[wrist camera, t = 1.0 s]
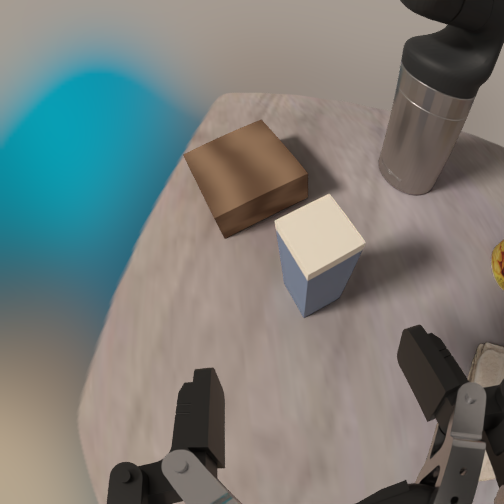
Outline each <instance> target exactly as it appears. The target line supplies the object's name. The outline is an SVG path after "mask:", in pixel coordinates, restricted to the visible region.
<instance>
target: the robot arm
mask: <svg viewBox="0 0 504 504" xmlns="http://www.w3.org/2000/svg"><path fill="white" fill-rule="evenodd" d="M400 1H401V2H402V3H403V4H404V5H405V6H406V7H407V8H408V9H410V10H411V11H413V12H414V13H417V14H419V15H421V16H423V17H426V18H428V19H431V20H435V21H438V22H441V23H445V24H448V25H447V26H446V27H445V28H444V29H442V30H441V31H439V32H436V33H432V34H428V35H423V36H416V37H412V38H410V39H409V40H407V41H406V43H405V45H404V48H403V55H402V60H401V66H400V71H399V77H398V82H397V88H396V92H395V97H394V102H393V106H392V110H391V115H390V119H389V123H388V127H387V131H386V135H385V139H384V143H383V147H382V151H381V154H380V158H379V168H380V171H381V173H382V175H383V177H384V178H385V179H386V181H387V182H388V183H390V184H391V185H392V186H393V187H395V188H396V189H398V190H400V191H402V192H404V193H407V194H412V195H421V194H424V193H427V192H428V191H430V190H431V188H432V187H433V185H434V184H435V182H436V180H437V178H438V176H439V174H440V173H441V171H442V169H443V167H444V165H445V163H446V161H447V159H448V157H449V155H450V153H451V151H452V149H453V147H454V145H455V143H456V141H457V139H458V137H459V134H460V132H461V130H462V128H463V126H464V123H465V121H466V119H467V116H468V114H469V111H470V109H471V106H472V104H473V102H474V99H475V97H476V94H477V91H478V89H479V87H480V86H481V85H482V84H483V83H485V82H486V81H487V79H488V78H489V77H490V75H491V73H492V71H493V69H494V66H495V64H496V61H497V59H498V56H499V53H500V51H501V48H502V46H503V43H504V0H400ZM397 359H398V363H399V366H400V368H401V369H402V371H403V373H404V375H405V377H406V379H407V381H408V383H409V385H410V387H411V389H412V391H413V393H414V395H415V397H416V399H417V401H418V403H419V405H420V407H421V409H422V411H423V413H424V415H425V417H426V420H427V422H428V421H430V420H433V419H435V418H436V420H437V422H438V423H437V425H436V428H435V432H434V436H433V439H432V443H431V446H430V449H429V453H428V456H427V459H426V462H425V464H424V466H423V467H422V469H421V471H420V473H419V475H418V477H417V479H416V482H415V483H413V484H407V481H406V480H405V481H402V482H400V483H397V484H395V485H392V486H389V487H387V488H384V489H381V490H379V491H378V492H376V493H374V494H372V495H371V496H369V497H367V498H365V499H364V500H362V501H360V502H358V503H356V504H472V502H473V499H474V495H475V492H476V488H477V485H478V481H479V477H480V473H481V469H482V464H483V459H484V454H485V450H486V452H487V455H488V458H489V460H490V463H491V466H492V468H493V471H494V474H495V477H496V480H497V483H498V486H499V490H498V492H497V495H496V497H495V499H494V504H504V379H503V380H502V382H501V383H500V385H495V386H490V387H482V386H481V385H479V384H477V383H474V382H469V380H468V379H467V378H466V376H465V375H464V373H463V371H462V370H461V368H460V367H459V365H458V364H457V362H456V361H455V359H454V358H453V356H451V353H450V352H449V350H448V349H446V346H445V345H444V343H443V342H442V340H441V339H440V338H438V337H437V336H435V335H434V334H433V333H429V334H427V332H426V331H425V330H424V328H423V327H422V326H421V325H416V326H413V327H410V328H407V329H404V330H403V332H402V336H401V341H400V345H399V349H398V353H397ZM217 468H225V399H224V392H223V388H222V386H221V384H220V381H219V379H218V376H217V374H216V372H215V369H214V368H203V369H195V371H194V377H193V382H188V383H184V385H183V386H182V388H181V390H180V391H179V393H178V400H177V407H176V415H175V423H174V431H173V439H172V447H171V450H170V452H169V453H168V454H167V455H166V456H165V458H164V459H162V460H160V461H158V462H155V463H151V464H147V465H142V466H136V465H135V464H133V463H130V462H122V463H119V464H117V465H116V466H115V467H114V468H113V469H112V471H111V473H110V479H109V488H108V497H107V504H172V503H177V502H181V501H184V502H185V503H186V504H242V503H241V502H240V501H239V500H238V499H237V498H236V497H235V496H234V495H233V494H232V493H231V492H230V491H229V490H228V489H227V488H226V487H225V486H224V485H223V484H222V483H221V482H220V481H219V480H218V479H217Z"/></svg>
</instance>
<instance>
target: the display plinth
mask: <svg viewBox="0 0 504 504" xmlns="http://www.w3.org/2000/svg"><path fill="white" fill-rule="evenodd" d="M184 157H185V160H186V162H187V164H188V166H189V168H190V170H191V172H192V174H193V176H194V178H195V180H196V182H197V184H198V186H199V188H200V190H201V192H202V194H203V196H204V198H205V200H206V202H207V204H208V207H209V209H210V211H211V213H212V215H213V217H214V219H215V221H216V223H217V224H218V226H219V228H220V230H221V232H222V234H223V236H224V238H227V237H229V236H231V235H233V234H235V233H237V232H239V231H241V230H243V229H245V228H247V227H249V226H251V225H253V224H255V223H257V222H259V221H261V220H263V219H265V218H267V217H269V216H271V215H273V214H275V213H277V212H279V211H281V210H283V209H285V208H287V207H289V206H292V205H294V204H296V203H298V202H300V201H302V200H304V199H306V198H308V173H307V172H306V170H305V169H304V168H303V167H302V166H301V164H300V163H299V162H298V161H297V160H296V158H295V157H294V156H293V155H292V154H291V152H290V151H289V150H288V149H287V148H286V147H285V146H284V144H283V143H282V142H281V141H280V140H279V139H278V137H277V136H276V135H275V134H274V133H273V132H272V131H271V130H270V129H269V127H268V126H267V125H266V124H265V123H264V122H263V121H262V120H259V121H257V122H254V123H252V124H249V125H247V126H245V127H242V128H240V129H238V130H235V131H233V132H231V133H228V134H226V135H224V136H222V137H219V138H217V139H215V140H213V141H211V142H209V143H206V144H204V145H202V146H200V147H198V148H196V149H194V150H192V151H190V152H188V153H186V154H184Z"/></svg>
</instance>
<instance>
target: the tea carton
mask: <svg viewBox="0 0 504 504" xmlns="http://www.w3.org/2000/svg"><path fill="white" fill-rule="evenodd" d="M275 227H276V233H277V239H278V246H279V252H280V259H281V265H282V272H283V279H284V284H285V286H286V287H287V289H288V291H289V293H290V294H291V296H292V298H293V300H294V302H295V303H296V305H297V307H298V309H299V310H300V312H301V314H302V316H303V318H305V317H306V316H308V315H310V314H312V313H314V312H315V311H317V310H319V309H321V308H323V307H324V306H326V305H328V304H330V303H331V302H333V301H335V300H336V299H338V298H339V297H340V296H341V294H342V292H343V290H344V288H345V286H346V284H347V282H348V280H349V278H350V275H351V273H352V271H353V269H354V267H355V265H356V263H357V261H358V259H359V257H360V254H361V252H362V250H363V248H364V246H365V243H366V242H365V241H364V239H363V238H362V236H361V235H360V234H359V232H358V231H357V230H356V228H355V227H354V225H353V224H352V223H351V221H350V220H349V219H348V217H347V216H346V215H345V213H344V212H343V211H342V209H341V208H340V207H339V205H338V204H337V203H336V202H335V200H334V199H333V198H332V196H331V195H330V194H328V195H325V196H323V197H321V198H319V199H317V200H315V201H313V202H311V203H309V204H307V205H305V206H303V207H301V208H299V209H297V210H295V211H293V212H291V213H289V214H287V215H285V216H283V217H281V218H279V219H277V220H275Z"/></svg>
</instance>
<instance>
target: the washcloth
mask: <svg viewBox="0 0 504 504" xmlns="http://www.w3.org/2000/svg"><path fill="white" fill-rule="evenodd" d="M467 379H468V380H469V382H474V383H477V384H479V385H481V386H482V387H490V386H495V385H500V383H501V382H502V380H503V379H504V347H502V346H498V345H494V344H491V343H488V342H487V343H485V344H479V346H478V349H477V353H476V355H475V357H474V359H473V361H472V366H471V368H470V372H469V375H468V378H467ZM495 478H496V477H495V474H494V471H493V468H492V466H491V463H490V460H489V458H488V455H487V452H486V450H485V454H484V459H483V464H482V469H481V473H480V477H479V481H486V480H492V479H495Z"/></svg>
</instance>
